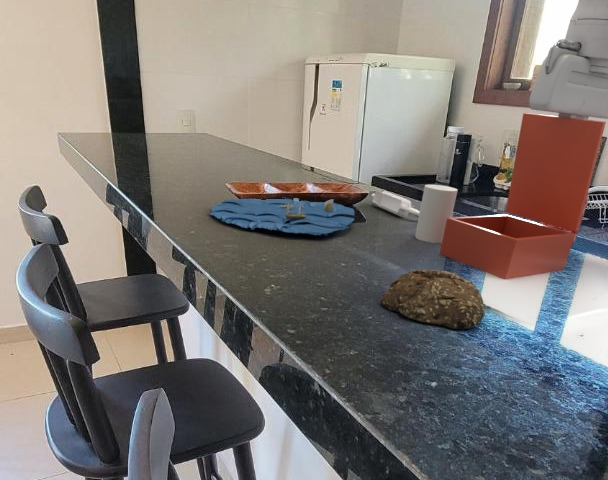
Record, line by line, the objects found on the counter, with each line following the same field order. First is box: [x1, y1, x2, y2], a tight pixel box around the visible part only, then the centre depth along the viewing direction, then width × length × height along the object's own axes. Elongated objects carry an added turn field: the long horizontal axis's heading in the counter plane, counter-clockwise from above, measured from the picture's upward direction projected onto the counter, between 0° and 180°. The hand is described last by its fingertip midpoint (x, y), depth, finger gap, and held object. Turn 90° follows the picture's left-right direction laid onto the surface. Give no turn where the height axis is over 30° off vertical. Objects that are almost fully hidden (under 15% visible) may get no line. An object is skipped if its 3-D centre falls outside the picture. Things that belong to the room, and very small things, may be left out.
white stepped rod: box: [371, 190, 420, 218], centre depth 122 cm, size 20×8×4 cm, turn 23°
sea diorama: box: [208, 197, 355, 236], centre depth 103 cm, size 30×30×5 cm
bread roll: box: [380, 268, 486, 330], centre depth 67 cm, size 13×12×5 cm
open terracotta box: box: [439, 214, 576, 280], centre depth 88 cm, size 16×14×7 cm
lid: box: [505, 112, 607, 232], centre depth 86 cm, size 16×14×1 cm
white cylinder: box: [414, 184, 459, 244], centre depth 97 cm, size 6×6×10 cm
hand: (564, 146), depth 85 cm, fingers closed
